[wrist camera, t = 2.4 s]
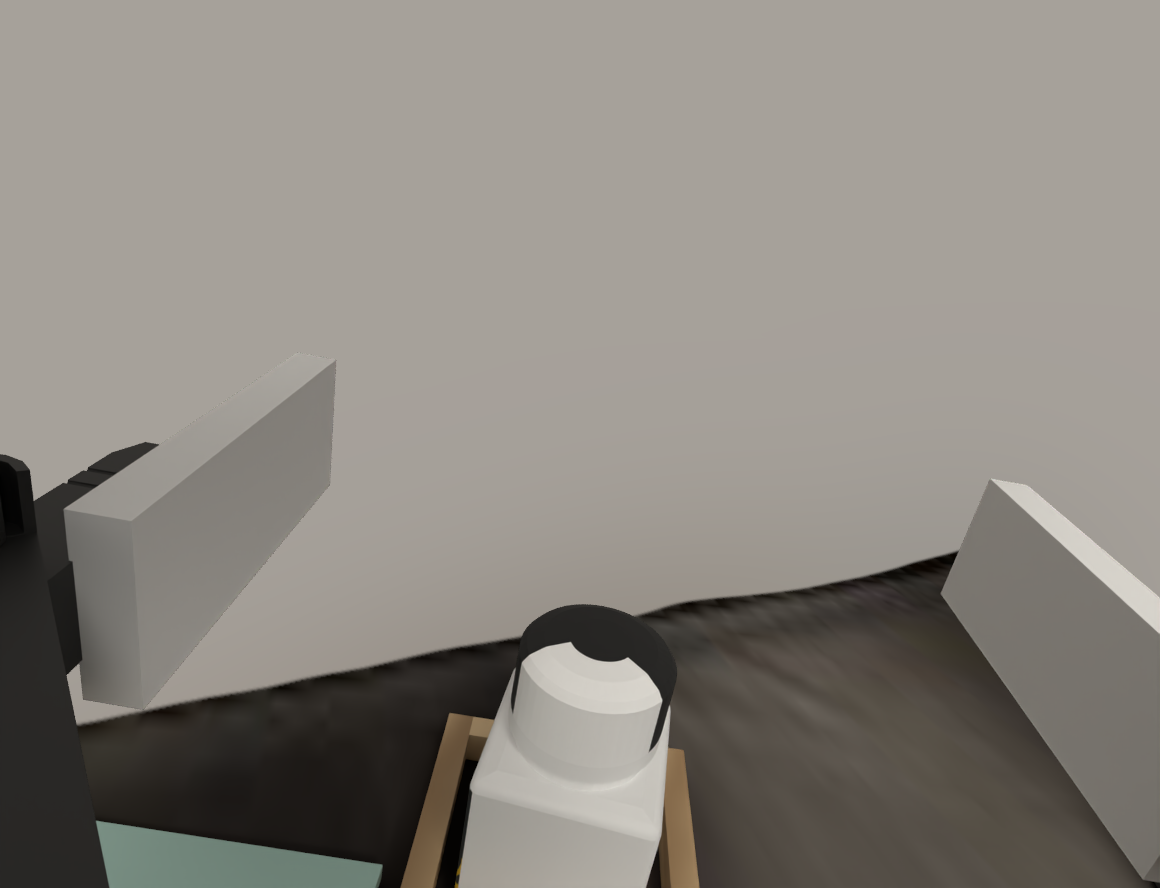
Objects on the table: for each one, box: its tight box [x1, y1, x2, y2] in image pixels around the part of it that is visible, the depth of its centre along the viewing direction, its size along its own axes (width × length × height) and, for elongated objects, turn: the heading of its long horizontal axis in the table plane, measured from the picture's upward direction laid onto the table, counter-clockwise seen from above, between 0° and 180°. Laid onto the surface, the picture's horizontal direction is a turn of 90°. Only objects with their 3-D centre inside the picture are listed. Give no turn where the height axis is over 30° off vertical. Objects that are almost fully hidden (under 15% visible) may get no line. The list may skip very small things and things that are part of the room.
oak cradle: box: [401, 713, 699, 888], centre depth 32 cm, size 12×12×2 cm
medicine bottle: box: [455, 604, 677, 888], centre depth 30 cm, size 7×7×12 cm
